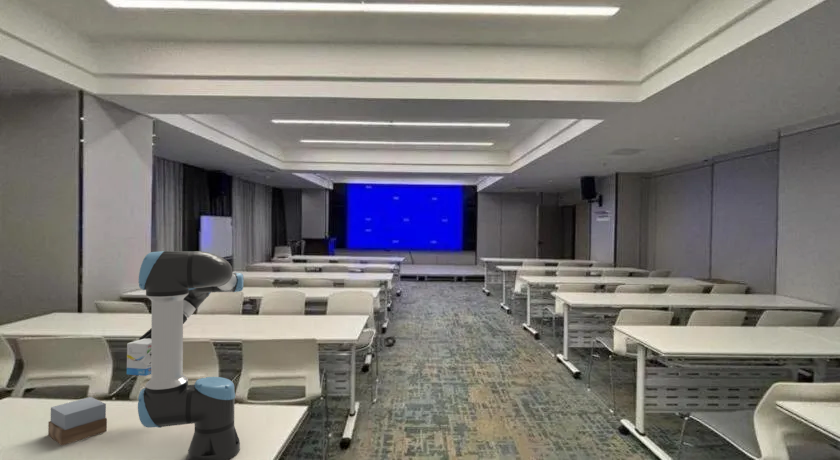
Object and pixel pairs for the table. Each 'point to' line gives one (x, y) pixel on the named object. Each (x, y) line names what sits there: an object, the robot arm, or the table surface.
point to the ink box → (138, 357)
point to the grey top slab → (78, 413)
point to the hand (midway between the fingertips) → (136, 361)
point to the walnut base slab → (76, 431)
